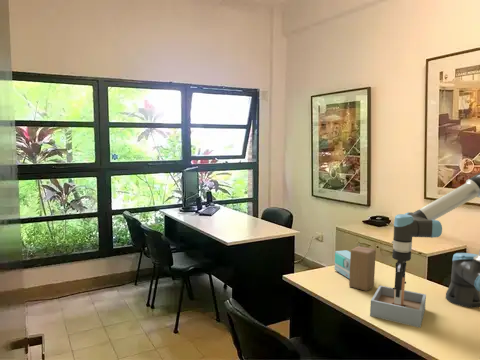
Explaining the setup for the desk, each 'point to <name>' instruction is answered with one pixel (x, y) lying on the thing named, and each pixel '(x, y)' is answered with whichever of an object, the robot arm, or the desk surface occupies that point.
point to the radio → (343, 262)
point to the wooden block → (362, 268)
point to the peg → (402, 292)
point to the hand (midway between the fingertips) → (398, 300)
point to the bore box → (403, 314)
